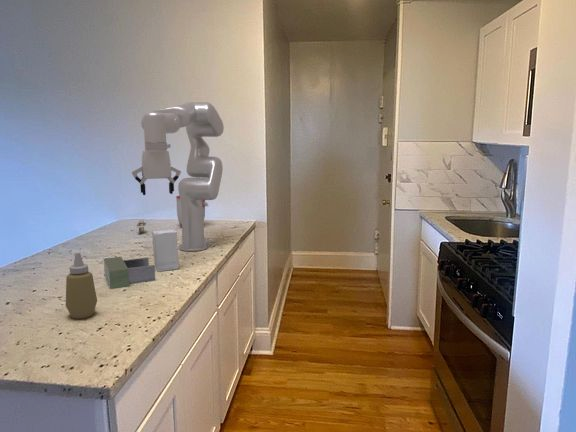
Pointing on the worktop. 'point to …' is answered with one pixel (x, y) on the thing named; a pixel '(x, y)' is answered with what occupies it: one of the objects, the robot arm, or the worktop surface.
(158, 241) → the skincare box
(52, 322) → the worktop surface
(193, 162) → the robot arm
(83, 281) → the squeeze bottle
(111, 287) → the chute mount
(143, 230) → the beige brown figurine
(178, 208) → the citrus juicer
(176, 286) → the worktop surface
